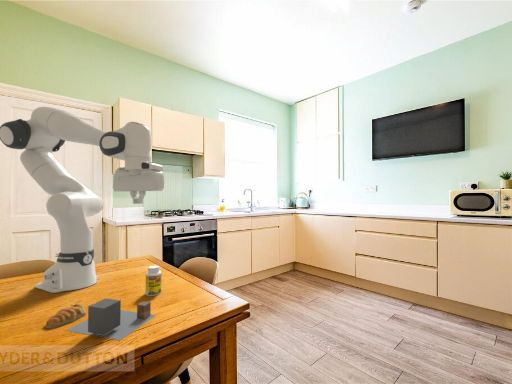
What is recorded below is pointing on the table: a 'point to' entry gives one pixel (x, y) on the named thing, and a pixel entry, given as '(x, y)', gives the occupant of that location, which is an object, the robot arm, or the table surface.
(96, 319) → the dark gray block
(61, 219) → the robot arm
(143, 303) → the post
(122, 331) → the mat
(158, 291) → the supplement bottle
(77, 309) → the pastry
